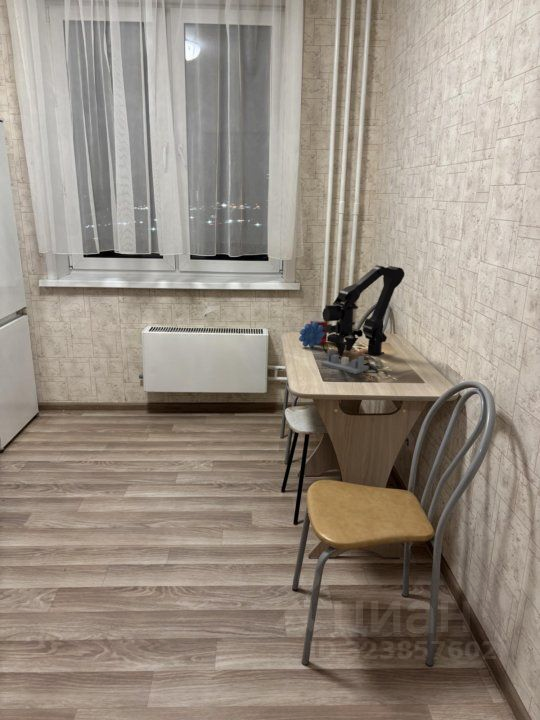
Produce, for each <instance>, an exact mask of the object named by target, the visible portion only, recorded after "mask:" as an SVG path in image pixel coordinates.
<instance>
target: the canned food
mask: <svg viewBox="0 0 540 720" xmlns="http://www.w3.org/2000/svg"><path fill="white" fill-rule="evenodd" d="M313 322H317V324H318V326H319V325H322V326H323V330H322V331H323V332H324V333H325V335H324V337H322V338H321V343H319V344H318V345H323V344H326V343H327V342H328V341H327V336H328V335H327V334H328V332H326V325H328V322H326V321H324V319H323V317H322V318H321V317H315V318H313V317H312V318H311V319H310V322H309V324H310V325H311V324H312V323H313ZM315 345H317V344H316V343H315Z"/></svg>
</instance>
